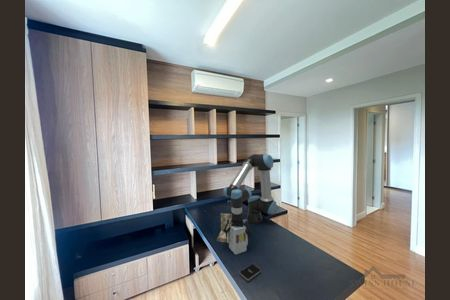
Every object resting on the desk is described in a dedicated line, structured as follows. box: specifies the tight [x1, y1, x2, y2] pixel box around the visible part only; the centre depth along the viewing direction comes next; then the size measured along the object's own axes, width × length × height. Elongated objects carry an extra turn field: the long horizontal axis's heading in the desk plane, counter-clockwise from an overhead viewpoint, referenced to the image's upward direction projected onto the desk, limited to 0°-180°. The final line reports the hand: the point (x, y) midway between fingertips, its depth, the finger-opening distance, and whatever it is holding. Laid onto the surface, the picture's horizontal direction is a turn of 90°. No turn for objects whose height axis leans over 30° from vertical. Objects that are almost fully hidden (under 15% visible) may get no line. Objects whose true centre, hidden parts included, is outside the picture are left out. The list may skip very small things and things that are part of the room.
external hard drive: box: [239, 263, 262, 283], centre depth 95 cm, size 7×11×2 cm, turn 128°
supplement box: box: [228, 224, 248, 255], centre depth 117 cm, size 10×9×17 cm
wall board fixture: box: [216, 213, 232, 243], centre depth 133 cm, size 18×16×15 cm
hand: (237, 242), depth 117 cm, fingers closed on supplement box, 13 cm apart
